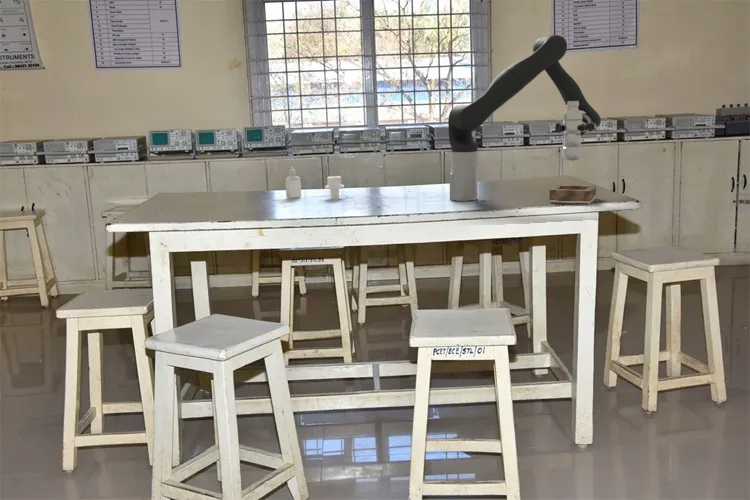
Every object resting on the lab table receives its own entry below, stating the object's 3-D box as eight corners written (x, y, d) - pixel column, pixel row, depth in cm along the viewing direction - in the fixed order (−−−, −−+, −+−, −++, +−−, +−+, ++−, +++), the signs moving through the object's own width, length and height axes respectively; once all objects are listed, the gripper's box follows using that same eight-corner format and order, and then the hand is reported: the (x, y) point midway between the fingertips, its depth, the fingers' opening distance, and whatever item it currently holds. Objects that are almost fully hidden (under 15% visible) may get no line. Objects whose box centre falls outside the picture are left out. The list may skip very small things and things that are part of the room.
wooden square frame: (549, 202, 253) (549, 189, 252) (556, 197, 265) (557, 184, 264) (590, 204, 248) (590, 190, 247) (595, 198, 260) (596, 185, 259)
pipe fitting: (333, 200, 273) (332, 178, 271) (322, 198, 279) (321, 176, 277) (347, 198, 277) (346, 176, 275) (336, 196, 282) (336, 175, 281)
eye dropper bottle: (301, 198, 280) (299, 166, 277) (286, 199, 279) (284, 167, 277) (301, 196, 284) (299, 165, 281) (286, 197, 283) (284, 166, 281)
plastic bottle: (577, 162, 249) (579, 101, 245) (558, 161, 253) (559, 101, 249) (584, 159, 254) (586, 100, 250) (566, 159, 258) (567, 100, 254)
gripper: (558, 114, 266) (549, 117, 251) (600, 114, 260) (593, 116, 245) (558, 135, 268) (549, 139, 253) (599, 135, 262) (592, 139, 247)
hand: (571, 128), depth 249 cm, fingers closed on plastic bottle, 6 cm apart
